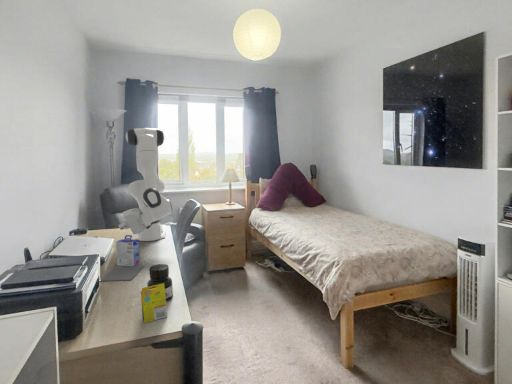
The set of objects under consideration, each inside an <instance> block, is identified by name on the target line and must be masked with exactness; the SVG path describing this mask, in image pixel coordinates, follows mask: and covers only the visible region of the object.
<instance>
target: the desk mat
mask: <svg viewBox="0 0 512 384" xmlns="http://www.w3.org/2000/svg"><path fill="white" fill-rule="evenodd" d="M143 268H144V265H136V266H113V267H112V268H111V269H110V270H109V271H107V272H106V273H105V274H104V275H102V277H101V282H100V283H102V282H124V281H125V282H126V281H132V280H133V279H134V278H135V276H137V275H138V274H139V272H141V271H142V269H143Z"/></svg>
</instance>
